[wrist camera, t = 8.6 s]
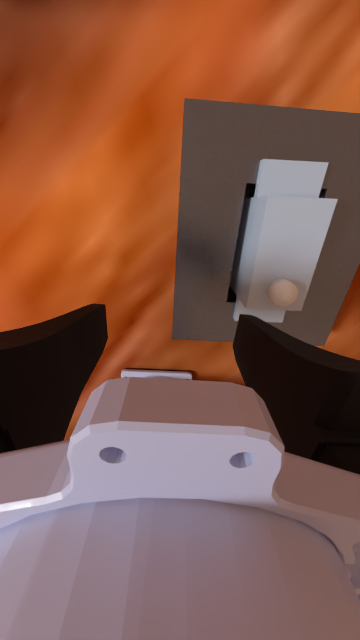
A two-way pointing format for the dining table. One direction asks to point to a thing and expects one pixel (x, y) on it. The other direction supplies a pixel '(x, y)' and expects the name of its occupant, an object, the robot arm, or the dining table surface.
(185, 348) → the dining table surface
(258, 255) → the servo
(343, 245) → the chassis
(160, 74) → the dining table surface
